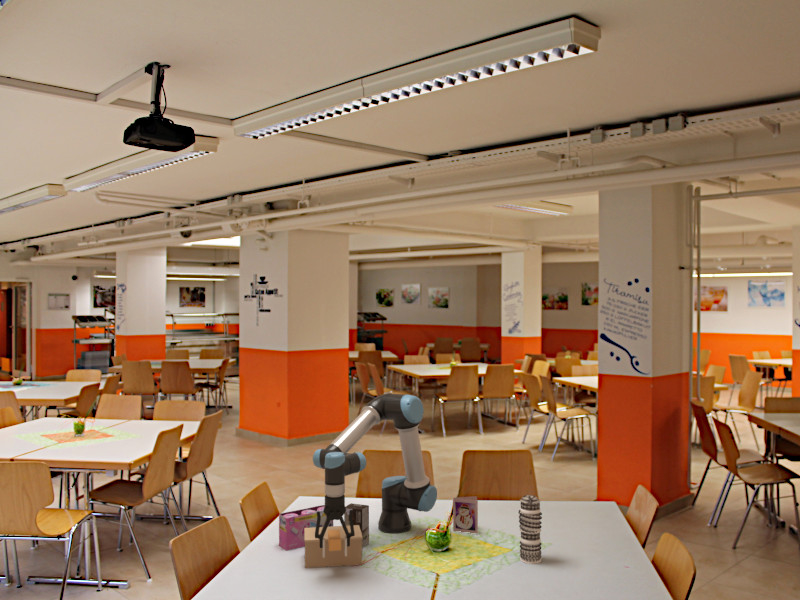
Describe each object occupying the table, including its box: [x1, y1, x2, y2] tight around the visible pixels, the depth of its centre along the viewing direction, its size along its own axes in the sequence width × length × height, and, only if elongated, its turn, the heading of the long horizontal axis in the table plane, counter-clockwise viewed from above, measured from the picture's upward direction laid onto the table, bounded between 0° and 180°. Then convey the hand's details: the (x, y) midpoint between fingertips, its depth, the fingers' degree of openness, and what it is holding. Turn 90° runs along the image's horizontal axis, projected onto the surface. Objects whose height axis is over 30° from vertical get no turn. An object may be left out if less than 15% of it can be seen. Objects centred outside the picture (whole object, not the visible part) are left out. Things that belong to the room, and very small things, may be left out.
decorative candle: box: [518, 494, 543, 565], centre depth 254 cm, size 9×9×25 cm
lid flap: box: [304, 525, 362, 551], centre depth 249 cm, size 22×25×4 cm
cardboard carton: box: [304, 539, 363, 569], centre depth 255 cm, size 22×14×10 cm, turn 99°
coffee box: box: [343, 503, 370, 548], centre depth 272 cm, size 9×6×16 cm
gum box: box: [278, 504, 334, 551], centre depth 275 cm, size 24×8×14 cm, turn 125°
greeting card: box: [452, 495, 479, 534], centre depth 289 cm, size 11×7×15 cm, turn 68°
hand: (334, 555), depth 239 cm, fingers open, 8 cm apart
